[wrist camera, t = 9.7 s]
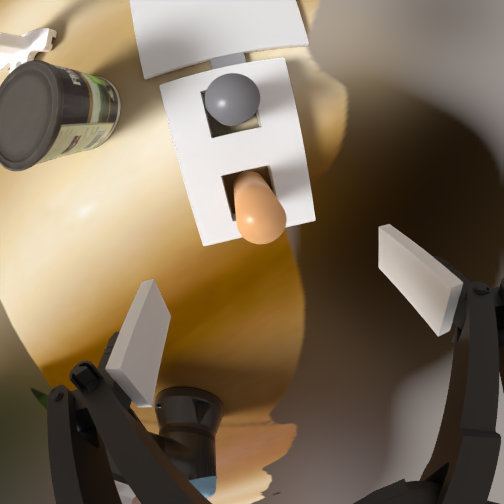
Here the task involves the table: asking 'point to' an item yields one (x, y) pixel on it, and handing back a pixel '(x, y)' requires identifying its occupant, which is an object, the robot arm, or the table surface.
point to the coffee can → (53, 113)
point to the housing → (238, 147)
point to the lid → (211, 31)
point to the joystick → (23, 47)
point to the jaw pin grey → (232, 99)
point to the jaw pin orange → (257, 209)
